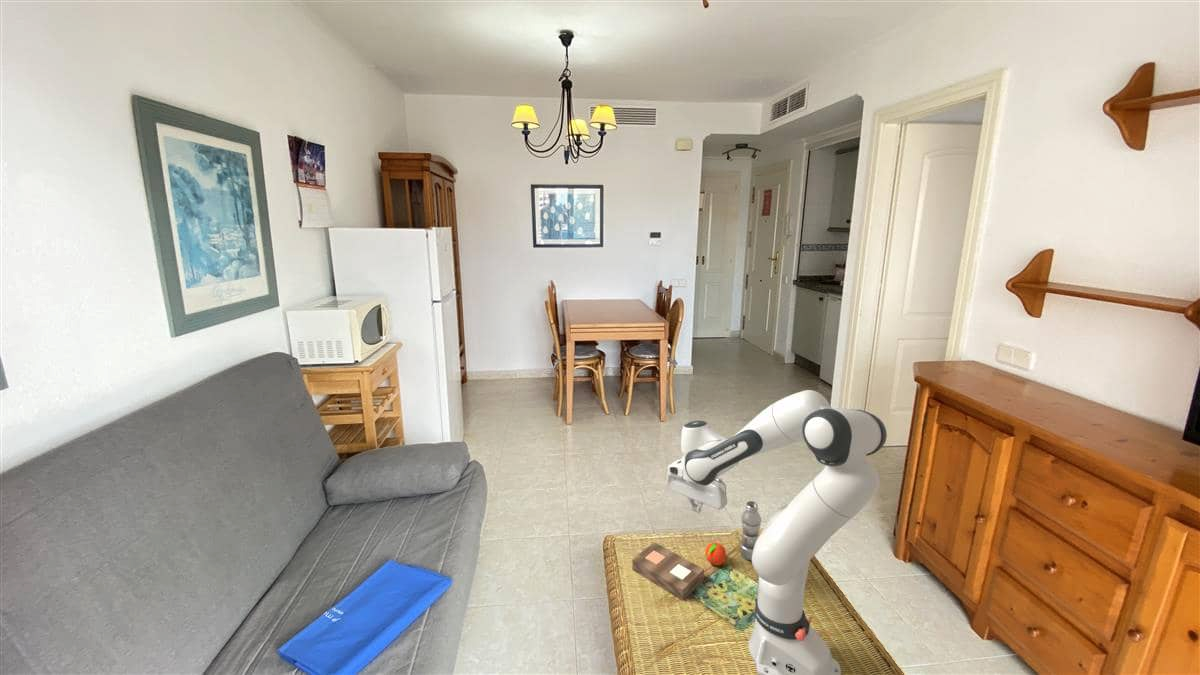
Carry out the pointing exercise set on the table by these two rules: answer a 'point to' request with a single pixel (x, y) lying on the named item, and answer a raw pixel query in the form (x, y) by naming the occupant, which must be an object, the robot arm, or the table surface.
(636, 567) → the key console
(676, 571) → the key ivory
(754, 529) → the plastic bottle
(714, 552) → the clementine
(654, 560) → the key terracotta
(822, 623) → the table surface
